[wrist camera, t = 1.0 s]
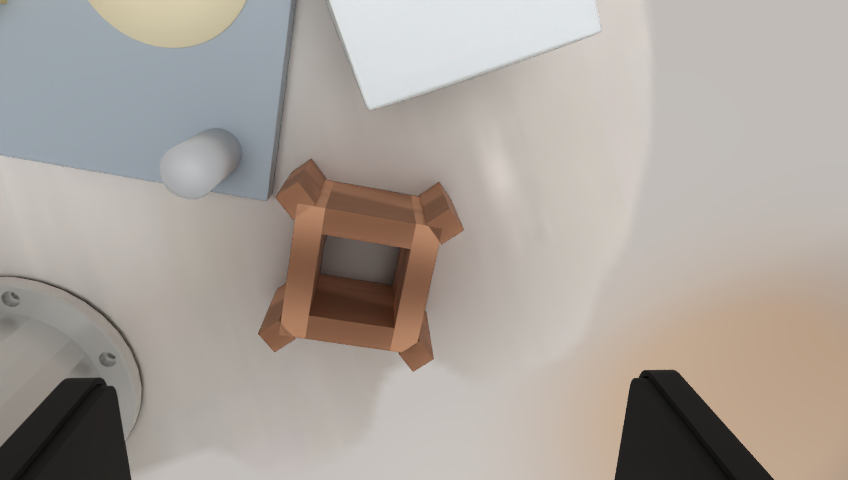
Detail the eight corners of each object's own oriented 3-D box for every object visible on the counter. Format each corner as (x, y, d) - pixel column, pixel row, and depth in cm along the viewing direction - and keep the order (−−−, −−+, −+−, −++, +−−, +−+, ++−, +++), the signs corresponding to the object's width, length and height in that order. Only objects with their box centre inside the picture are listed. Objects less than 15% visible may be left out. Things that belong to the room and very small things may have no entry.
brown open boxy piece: (423, 326, 33) (430, 374, 28) (274, 303, 32) (256, 349, 27) (454, 185, 30) (468, 212, 26) (294, 155, 29) (277, 178, 25)
